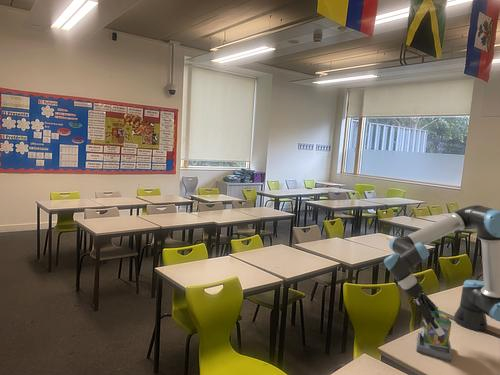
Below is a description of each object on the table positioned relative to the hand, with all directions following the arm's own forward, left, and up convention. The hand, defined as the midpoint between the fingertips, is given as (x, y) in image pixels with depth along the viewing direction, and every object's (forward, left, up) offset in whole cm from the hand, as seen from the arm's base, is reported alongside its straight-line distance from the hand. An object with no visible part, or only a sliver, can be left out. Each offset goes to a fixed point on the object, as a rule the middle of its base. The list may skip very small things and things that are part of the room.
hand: (443, 329), depth 161 cm
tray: (+2, 0, -11) cm, 11 cm away
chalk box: (+3, 0, -6) cm, 7 cm away
